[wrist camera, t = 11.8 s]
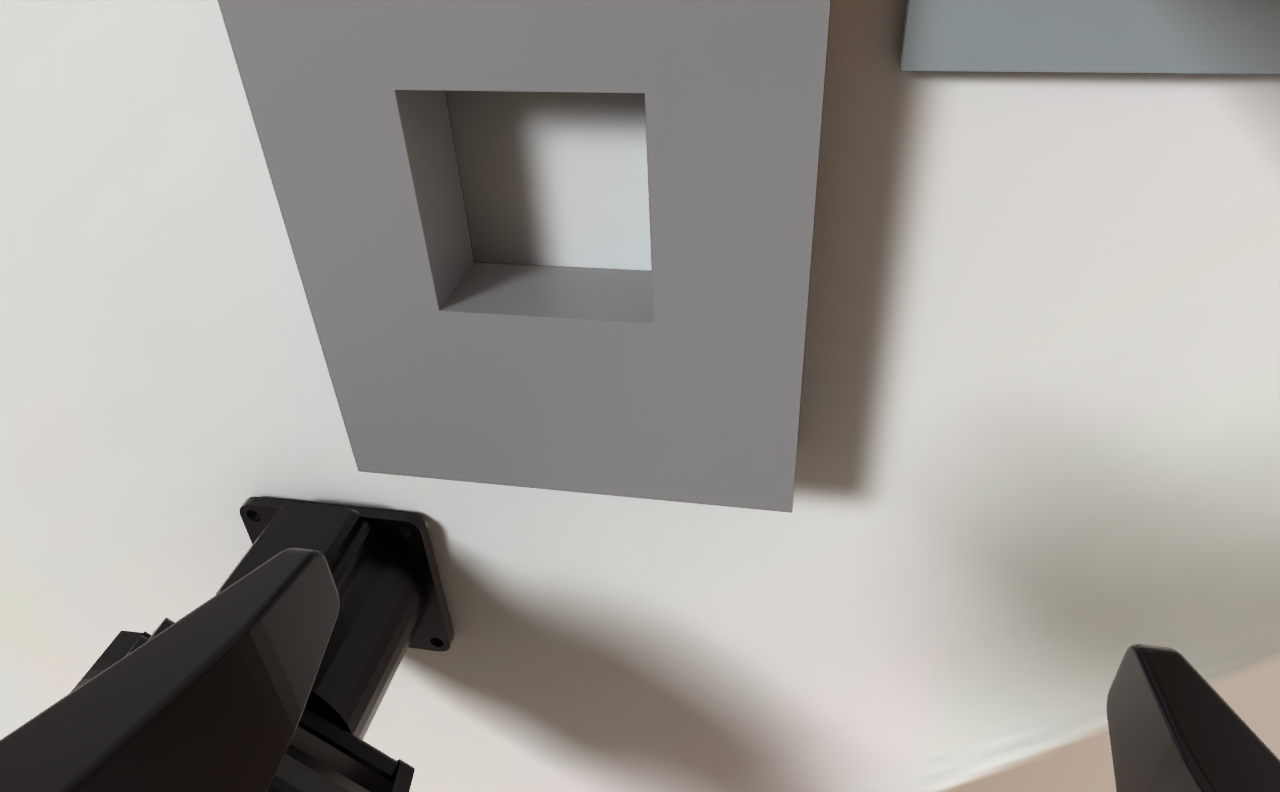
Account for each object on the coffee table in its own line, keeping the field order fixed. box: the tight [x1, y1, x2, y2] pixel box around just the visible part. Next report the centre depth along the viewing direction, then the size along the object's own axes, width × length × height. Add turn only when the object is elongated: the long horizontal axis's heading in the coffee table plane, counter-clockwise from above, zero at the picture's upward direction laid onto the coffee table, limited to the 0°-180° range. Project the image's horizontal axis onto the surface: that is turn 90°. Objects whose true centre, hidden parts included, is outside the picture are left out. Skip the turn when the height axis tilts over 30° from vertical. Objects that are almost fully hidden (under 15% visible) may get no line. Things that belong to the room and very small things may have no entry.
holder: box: [218, 0, 830, 512], centre depth 20 cm, size 16×12×2 cm
